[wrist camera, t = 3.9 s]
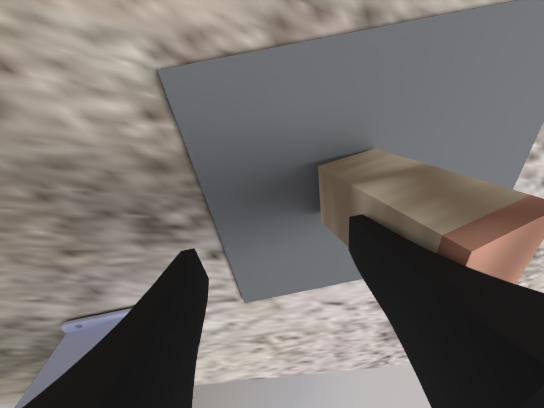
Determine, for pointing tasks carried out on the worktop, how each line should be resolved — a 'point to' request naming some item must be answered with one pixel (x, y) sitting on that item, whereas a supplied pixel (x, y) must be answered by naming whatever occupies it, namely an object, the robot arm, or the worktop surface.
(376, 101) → the mat
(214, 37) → the worktop surface
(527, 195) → the block
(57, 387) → the robot arm
